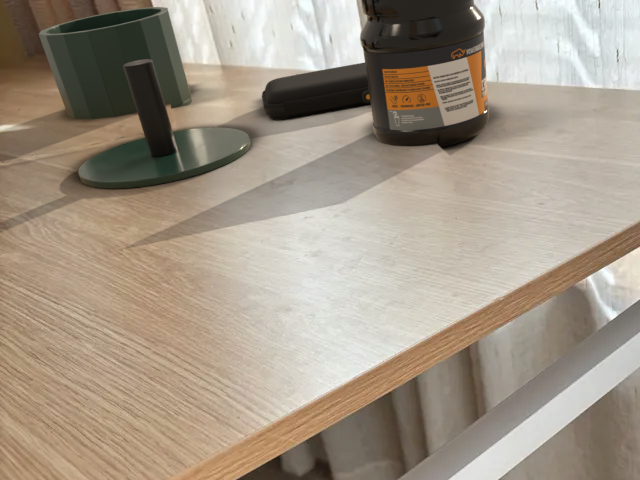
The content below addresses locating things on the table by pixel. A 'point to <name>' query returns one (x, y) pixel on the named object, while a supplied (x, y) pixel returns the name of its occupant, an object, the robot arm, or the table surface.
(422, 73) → the supplement container
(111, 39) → the tin
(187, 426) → the table surface
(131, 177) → the lid
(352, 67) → the carrying case
